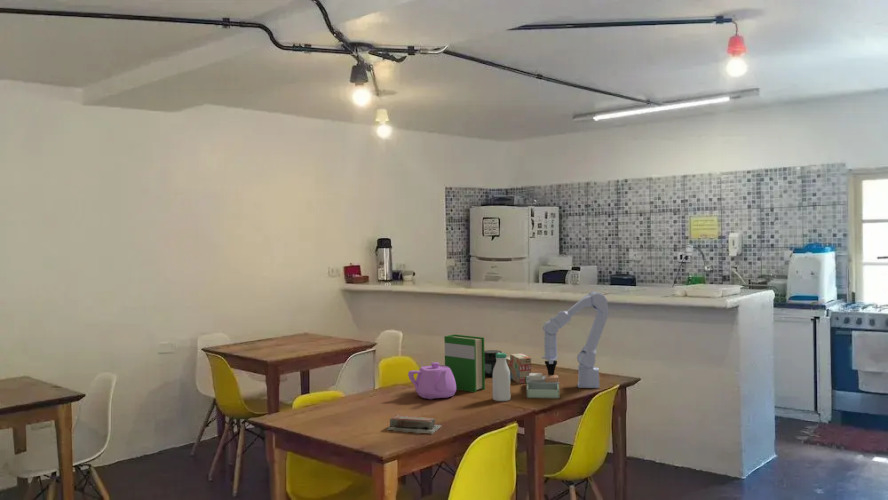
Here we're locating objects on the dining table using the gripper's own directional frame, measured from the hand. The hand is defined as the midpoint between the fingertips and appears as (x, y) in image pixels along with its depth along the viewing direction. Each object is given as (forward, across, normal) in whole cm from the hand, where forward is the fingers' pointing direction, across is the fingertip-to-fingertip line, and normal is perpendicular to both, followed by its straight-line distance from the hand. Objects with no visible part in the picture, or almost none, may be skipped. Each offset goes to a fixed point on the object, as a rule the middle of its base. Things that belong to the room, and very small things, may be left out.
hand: (551, 376), depth 331 cm
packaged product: (+6, +73, -51) cm, 89 cm away
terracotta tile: (+1, +4, 0) cm, 4 cm away
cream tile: (+1, 0, -7) cm, 7 cm away
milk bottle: (+5, +25, -22) cm, 33 cm away
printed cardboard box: (+5, -19, -16) cm, 25 cm away
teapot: (+5, +21, -51) cm, 55 cm away
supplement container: (+5, -27, -29) cm, 40 cm away
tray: (+5, +15, -4) cm, 17 cm away
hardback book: (+5, +4, -40) cm, 40 cm away
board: (+5, +2, -4) cm, 7 cm away
